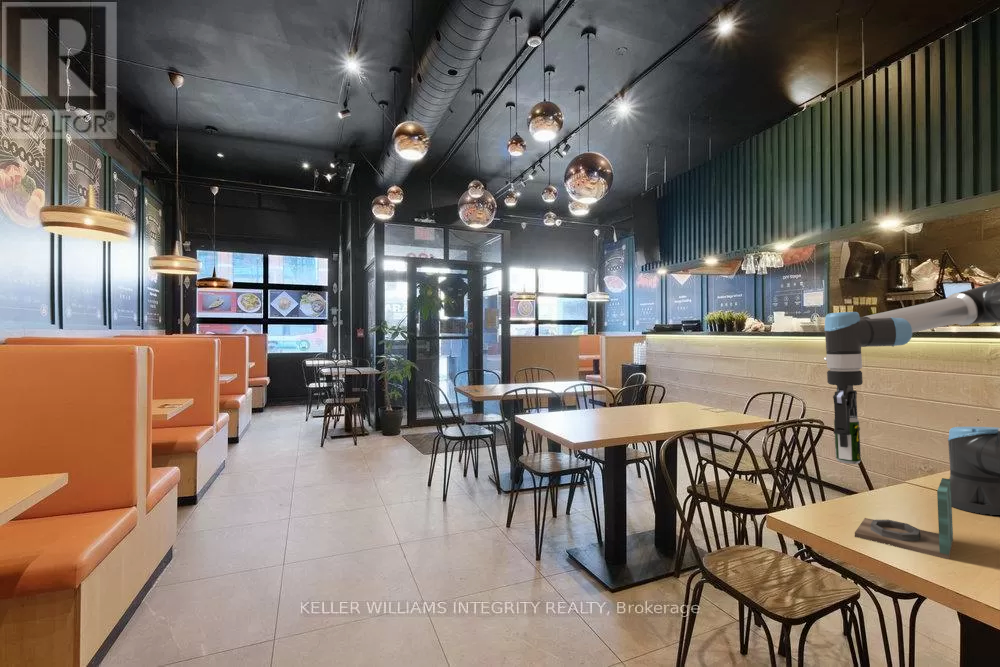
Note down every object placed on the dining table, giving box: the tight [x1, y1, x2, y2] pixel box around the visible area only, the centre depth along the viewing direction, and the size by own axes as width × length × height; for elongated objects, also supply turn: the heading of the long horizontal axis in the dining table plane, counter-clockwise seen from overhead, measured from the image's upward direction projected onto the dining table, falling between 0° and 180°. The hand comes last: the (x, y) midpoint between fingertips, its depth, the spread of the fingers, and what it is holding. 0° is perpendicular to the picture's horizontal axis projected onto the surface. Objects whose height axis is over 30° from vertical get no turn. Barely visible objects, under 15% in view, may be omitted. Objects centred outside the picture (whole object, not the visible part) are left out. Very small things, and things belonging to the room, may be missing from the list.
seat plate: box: [854, 477, 954, 560], centre depth 113 cm, size 13×17×15 cm
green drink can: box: [833, 415, 862, 465], centre depth 122 cm, size 5×5×12 cm
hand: (848, 456), depth 122 cm, fingers closed on green drink can, 5 cm apart
